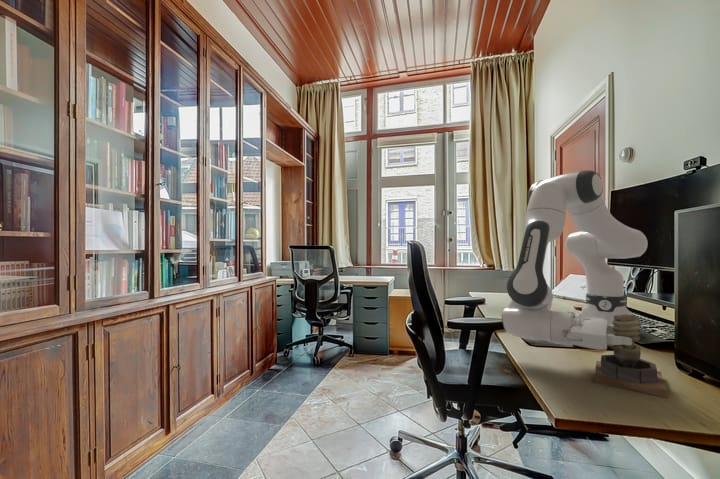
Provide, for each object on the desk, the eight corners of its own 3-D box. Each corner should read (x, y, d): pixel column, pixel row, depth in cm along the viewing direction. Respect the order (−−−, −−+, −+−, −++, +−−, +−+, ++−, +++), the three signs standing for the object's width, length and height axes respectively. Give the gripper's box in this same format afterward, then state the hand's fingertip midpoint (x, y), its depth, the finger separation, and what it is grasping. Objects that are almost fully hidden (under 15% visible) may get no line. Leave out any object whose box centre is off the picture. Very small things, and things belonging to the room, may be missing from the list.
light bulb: (648, 380, 75) (646, 317, 75) (621, 379, 77) (620, 317, 76) (633, 370, 81) (631, 311, 81) (608, 369, 82) (607, 311, 82)
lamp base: (596, 366, 88) (596, 350, 88) (660, 377, 80) (660, 359, 80) (594, 382, 78) (593, 364, 78) (667, 397, 70) (666, 377, 70)
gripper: (559, 325, 79) (632, 333, 71) (568, 310, 95) (629, 316, 87) (560, 350, 79) (633, 362, 71) (569, 331, 95) (629, 339, 87)
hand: (631, 336), depth 79 cm, fingers open, 7 cm apart
